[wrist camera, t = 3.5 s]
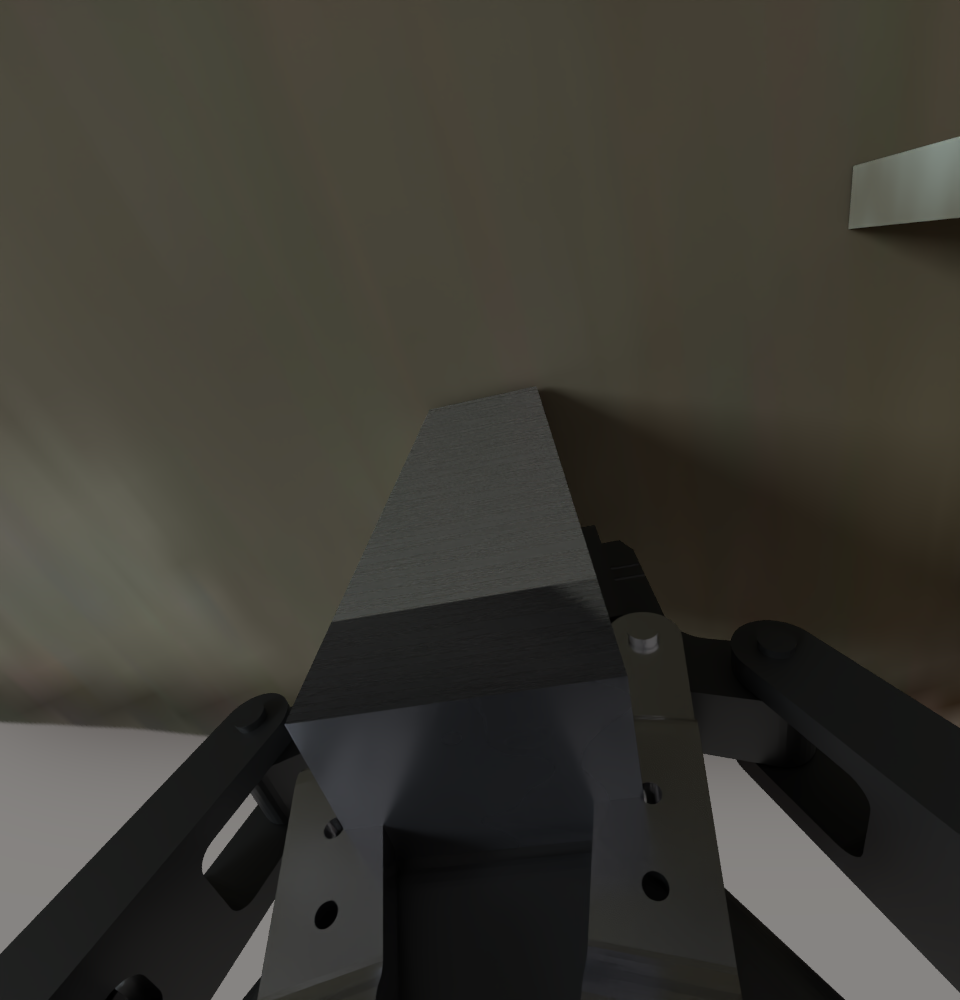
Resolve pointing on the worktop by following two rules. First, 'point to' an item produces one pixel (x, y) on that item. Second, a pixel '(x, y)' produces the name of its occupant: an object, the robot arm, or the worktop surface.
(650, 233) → the worktop surface
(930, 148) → the small shelf
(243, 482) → the worktop surface
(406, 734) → the brushed steel bar
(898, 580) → the worktop surface
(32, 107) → the worktop surface
